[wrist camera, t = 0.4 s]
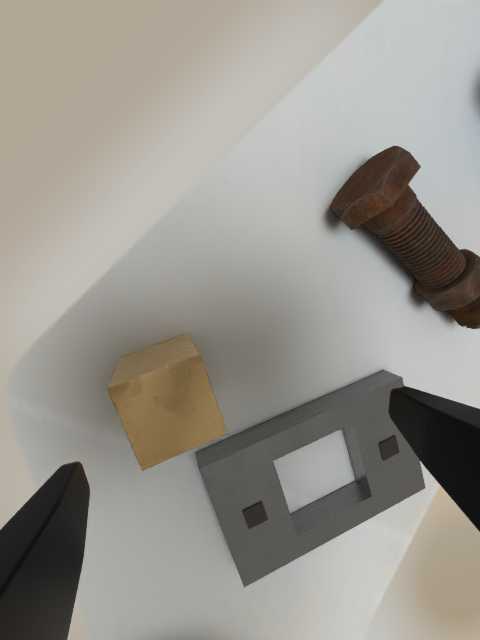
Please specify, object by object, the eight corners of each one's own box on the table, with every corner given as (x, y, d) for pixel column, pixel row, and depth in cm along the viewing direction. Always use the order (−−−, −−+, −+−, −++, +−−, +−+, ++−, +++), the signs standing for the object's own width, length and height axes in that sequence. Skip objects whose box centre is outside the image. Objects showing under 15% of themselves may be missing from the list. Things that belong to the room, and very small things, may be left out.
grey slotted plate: (406, 473, 28) (426, 488, 26) (237, 563, 24) (244, 588, 22) (383, 369, 26) (403, 377, 24) (195, 452, 22) (199, 469, 20)
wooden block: (208, 392, 22) (227, 433, 16) (145, 418, 21) (141, 470, 16) (187, 333, 21) (199, 353, 16) (120, 357, 20) (107, 388, 15)
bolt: (434, 316, 29) (324, 200, 24) (489, 278, 27) (380, 142, 22) (471, 356, 24) (341, 220, 19) (542, 313, 22) (416, 148, 17)
